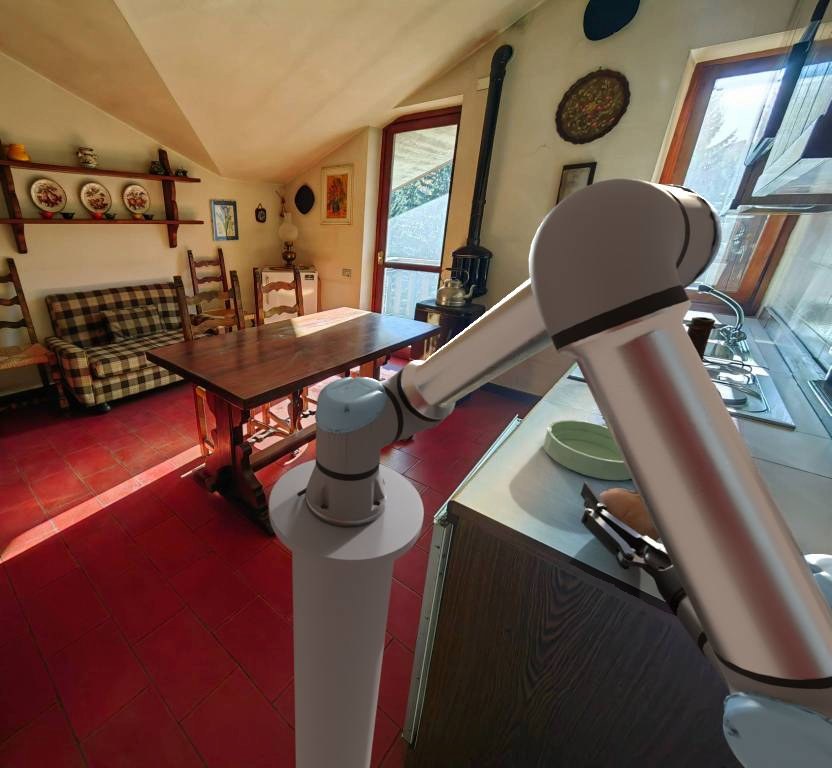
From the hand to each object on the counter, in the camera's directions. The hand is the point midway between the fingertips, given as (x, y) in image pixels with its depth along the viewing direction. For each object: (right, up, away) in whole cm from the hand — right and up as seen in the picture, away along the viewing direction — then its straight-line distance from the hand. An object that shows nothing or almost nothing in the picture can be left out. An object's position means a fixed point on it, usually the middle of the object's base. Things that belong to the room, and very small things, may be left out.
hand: (616, 492), depth 68 cm
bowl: (+9, +2, +21) cm, 23 cm away
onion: (-1, -7, -2) cm, 8 cm away
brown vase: (+45, +10, +41) cm, 62 cm away
